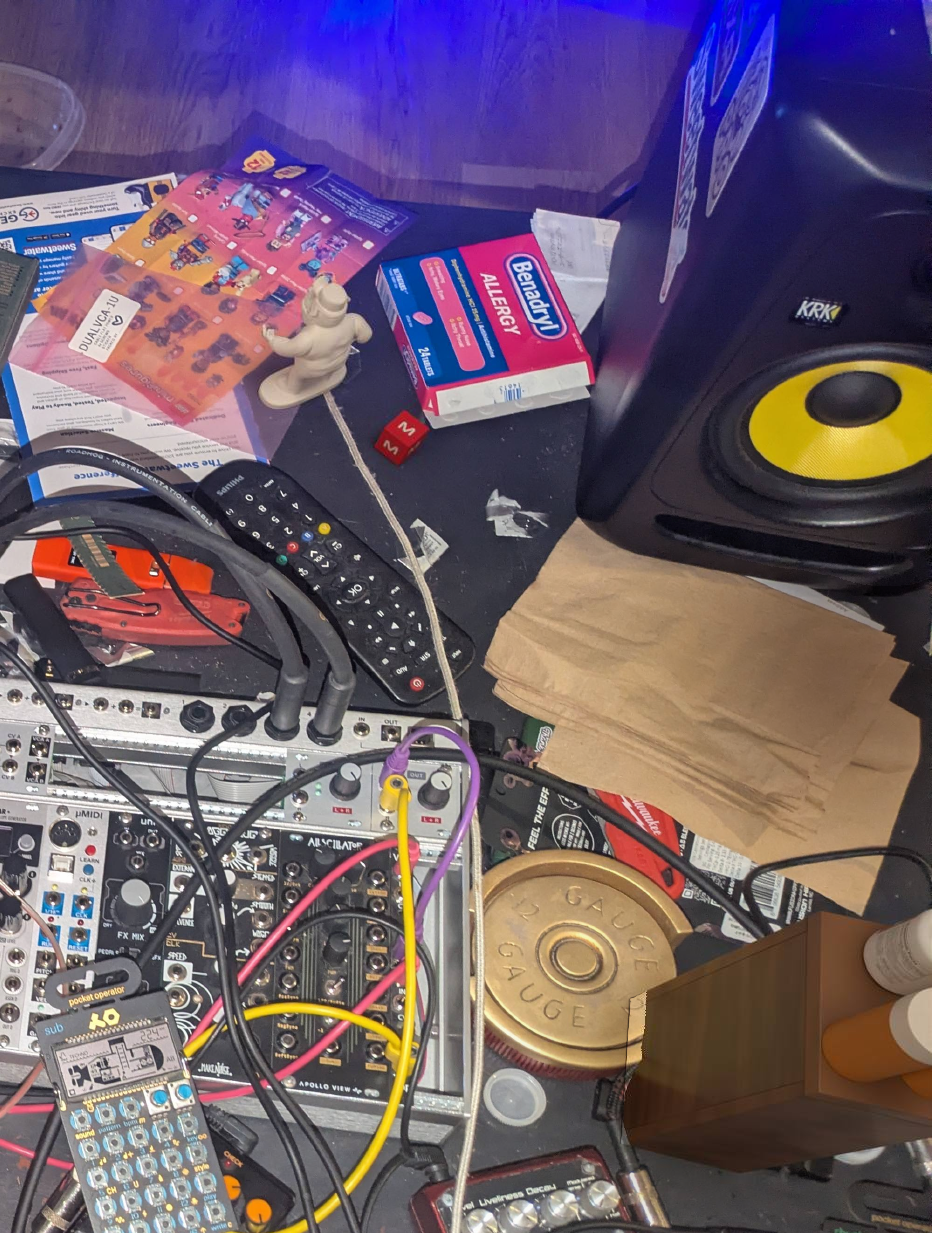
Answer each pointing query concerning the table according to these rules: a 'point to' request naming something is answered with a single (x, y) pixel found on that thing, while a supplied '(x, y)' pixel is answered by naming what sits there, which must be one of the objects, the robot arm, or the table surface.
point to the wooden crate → (742, 1068)
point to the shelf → (840, 993)
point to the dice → (401, 438)
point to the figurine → (314, 348)
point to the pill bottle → (902, 955)
